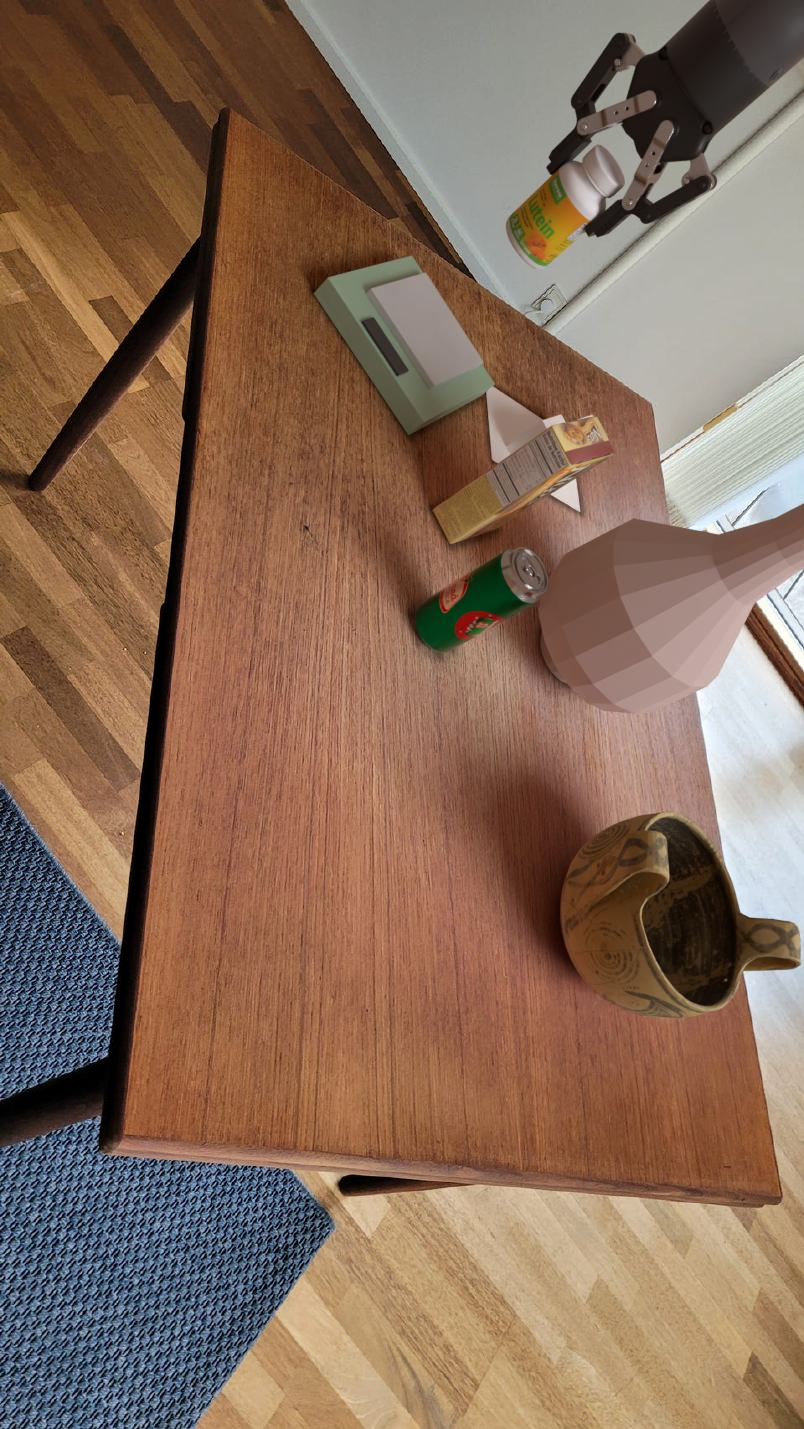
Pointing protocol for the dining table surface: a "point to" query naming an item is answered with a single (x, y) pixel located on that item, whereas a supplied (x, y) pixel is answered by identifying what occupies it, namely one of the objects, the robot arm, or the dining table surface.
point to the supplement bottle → (564, 207)
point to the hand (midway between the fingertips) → (571, 201)
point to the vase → (659, 607)
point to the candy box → (524, 478)
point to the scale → (405, 340)
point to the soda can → (481, 599)
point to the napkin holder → (521, 434)
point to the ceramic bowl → (664, 920)
